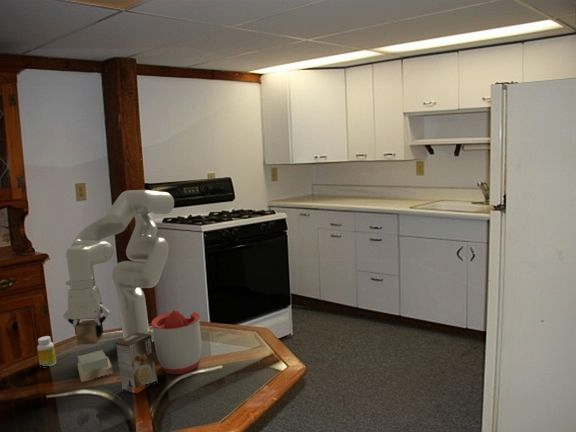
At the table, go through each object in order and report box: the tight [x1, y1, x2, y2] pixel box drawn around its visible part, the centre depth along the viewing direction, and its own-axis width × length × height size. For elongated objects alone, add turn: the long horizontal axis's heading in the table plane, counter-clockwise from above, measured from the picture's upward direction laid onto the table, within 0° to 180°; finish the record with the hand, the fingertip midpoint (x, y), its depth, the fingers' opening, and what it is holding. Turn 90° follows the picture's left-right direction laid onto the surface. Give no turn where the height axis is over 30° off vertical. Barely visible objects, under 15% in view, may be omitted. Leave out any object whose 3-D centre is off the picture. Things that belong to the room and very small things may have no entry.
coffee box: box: [115, 332, 158, 390], centre depth 169 cm, size 9×6×16 cm
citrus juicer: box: [151, 309, 202, 375], centre depth 181 cm, size 16×17×20 cm
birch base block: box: [77, 355, 114, 383], centre depth 182 cm, size 10×10×3 cm
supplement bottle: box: [36, 335, 57, 367], centre depth 191 cm, size 5×5×10 cm
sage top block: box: [77, 349, 108, 373], centre depth 182 cm, size 8×8×3 cm
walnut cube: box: [74, 319, 103, 346], centre depth 179 cm, size 6×6×6 cm
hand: (89, 335), depth 180 cm, fingers closed on walnut cube, 6 cm apart
